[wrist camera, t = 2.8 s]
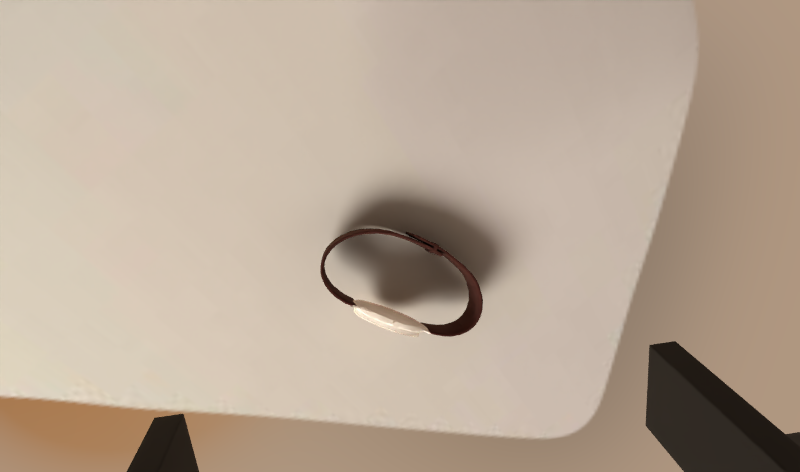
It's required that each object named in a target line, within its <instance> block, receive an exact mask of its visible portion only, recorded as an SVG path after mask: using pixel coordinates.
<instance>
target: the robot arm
mask: <svg viewBox="0 0 800 472" xmlns="http://www.w3.org/2000/svg"><path fill="white" fill-rule="evenodd" d="M646 410H647V411H646V426H647V428H648V429H649V430H650V431H651V432H652V434H653V435H654V436H655V437H656V438H657V440H658V441H659V442H660V443H661V444H662V446H663V447H664V448H665V449H666V450H667V452H668V453H669V454H670V455H671V456H672V458H673V459H674V460H675V461H676V462H677V464H678V465H679V466H680V467H681V468H682V470H683V471H684V472H800V432H798V433H792V434H784V433H783V432H782V431H781V430H780V429H778V428H777V427H776V426H775V425H773V424H772V423H771V422H770V421H769V420H767V419H766V418H765V417H764V416H763V415H762V414H761V413H759V412H758V411H757V410H756V409H754V408H753V407H752V406H751V405H750V404H749V403H748V402H746V401H745V400H744V399H743V398H742V397H740V396H739V395H738V394H737V393H736V392H734V391H733V390H732V389H731V388H730V387H728V386H727V385H726V384H725V383H724V382H723V381H721V380H720V379H719V378H718V377H717V376H716V375H714V374H713V373H712V372H711V371H710V370H709V369H707V368H706V367H705V366H704V365H703V364H701V363H700V362H699V361H698V360H697V359H696V358H694V357H693V356H692V355H691V354H689V353H688V352H687V351H686V350H685V349H684V348H683V347H681V346H680V345H679V344H678V343H677V342H668V343H661V344H654V345H650V348H649V368H648V390H647V409H646ZM127 472H199V470H198V466H197V463H196V459H195V455H194V451H193V448H192V444H191V440H190V436H189V433H188V429H187V425H186V422H185V418H184V414H179V415H172V416H165V417H158V418H154V420H153V422H152V424H151V426H150V428H149V430H148V432H147V434H146V435H145V437H144V439H143V441H142V443H141V445H140V447H139V449H138V451H137V453H136V455H135V457H134V459H133V461H132V463H131V465H130V467H129V468H128V471H127Z"/></svg>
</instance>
